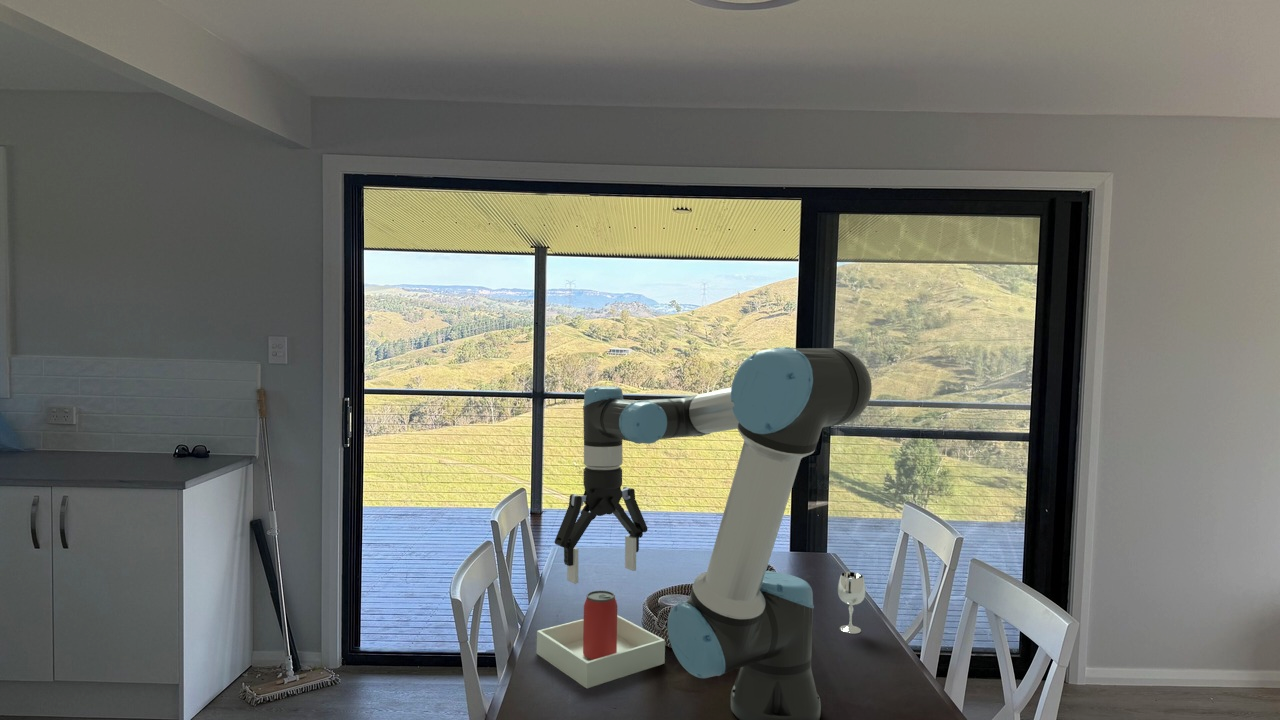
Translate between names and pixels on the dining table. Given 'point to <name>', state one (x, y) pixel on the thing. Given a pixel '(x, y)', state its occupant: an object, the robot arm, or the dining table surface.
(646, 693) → the dining table surface
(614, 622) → the beer can
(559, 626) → the bin
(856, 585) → the wineglass
